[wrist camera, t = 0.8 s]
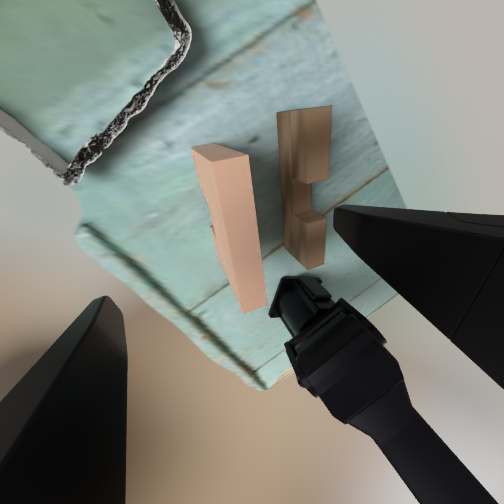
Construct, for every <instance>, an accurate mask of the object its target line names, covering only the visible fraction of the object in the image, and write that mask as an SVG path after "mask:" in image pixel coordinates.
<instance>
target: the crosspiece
mask: <svg viewBox="0 0 504 504" xmlns="http://www.w3.org/2000/svg"><path fill="white" fill-rule="evenodd" d="M191 151H192V155H193V159H194V163H195V167H196V171H197V175H198V179H199V183H200V187H201V191H202V193H203V194H204V196H205V197H206V199H207V202H208V206H209V210H210V214H211V219H212V223H213V226H210V227H211V231H212V235H213V239H214V243H215V247H216V251H217V255H218V258H219V260H220V263H221V265H222V267H223V269H224V271H225V274H226V276H227V278H228V280H229V283H230V285H231V287H232V289H233V291H234V294H235V296H236V298H237V300H238V303H239V305H240V307H241V309H242V311H243V314H244V313H246V312H249V311H252V310H255V309H257V308H260V307H263V306H266V305H267V297H266V289H265V281H264V273H263V266H262V258H261V250H260V242H259V234H258V226H257V219H256V211H255V203H254V195H253V187H252V180H251V172H250V164H249V156H248V155H247V154H244V153H241V152H238V151H235V150H232V149H229V148H226V147H224V146H221V145H218V144H215V143H212V144H207V145H201V146H196V147H191Z"/></svg>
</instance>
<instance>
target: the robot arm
mask: <svg viewBox="0 0 504 504" xmlns="http://www.w3.org/2000/svg"><path fill="white" fill-rule="evenodd" d="M333 227H334V229H335V231H336V232H337V233H338V234H339V236H340V237H341V238H342V239H343V240H344V241H345V242H346V244H347V245H348V246H349V247H350V248H351V249H352V250H353V251H354V252H355V254H356V255H357V256H358V257H360V258H361V259H362V260H363V261H364V262H365V263H366V264H367V265H368V266H369V267H370V268H371V269H373V270H374V271H375V272H376V273H377V274H378V275H379V276H380V277H381V278H382V279H384V280H385V281H386V282H387V283H388V284H389V285H390V286H391V287H392V288H393V289H394V290H396V291H397V292H398V293H399V294H400V295H401V296H402V297H403V298H404V299H405V300H407V301H408V302H409V303H410V304H411V305H412V306H413V307H414V308H415V309H417V310H418V311H419V312H420V313H421V314H422V315H423V316H424V317H425V318H426V319H427V320H428V321H430V322H431V323H432V324H433V325H434V326H435V327H436V328H437V329H438V330H439V331H441V332H442V333H443V334H444V335H445V336H446V337H447V338H448V339H450V341H451V342H452V343H453V344H455V345H456V346H457V347H458V348H459V349H460V350H461V351H462V352H463V353H464V354H466V355H467V356H468V357H469V358H470V359H471V360H472V361H473V362H474V363H475V364H476V365H478V366H479V367H480V368H481V369H482V370H483V371H484V372H485V373H486V374H487V375H488V376H490V377H491V378H492V379H493V380H494V381H495V382H496V383H497V384H498V385H499V386H500V387H502V388H503V389H504V215H487V214H470V213H455V212H454V213H453V212H446V213H445V212H440V211H425V210H413V209H399V208H386V207H372V206H358V205H341V206H338V207H336V208H335V209H334V216H333ZM321 283H322V280H321V279H320V278H313V277H283V278H282V279H281V280H280V283H279V286H278V288H277V291H276V294H275V297H274V299H273V302H272V305H271V308H270V310H269V313H268V315H269V316H270V318H277V317H280V318H281V320H282V321H283V323H284V324H285V326H286V328H287V329H288V331H289V332H290V334H291V336H292V337H293V338H292V339H291V340H290V341H287V342H286V343H285V344H284V346H285V348H286V353H287V355H288V357H289V360H290V362H291V364H292V367H293V369H294V371H295V374H296V378H297V382H298V384H299V385H300V386H301V387H303V388H306V389H307V390H308V391H309V392H310V393H311V394H312V395H313V396H314V397H318V396H319V397H320V398H321V400H322V401H323V403H324V404H325V406H326V407H327V408H328V410H329V411H330V413H331V414H332V416H334V417H335V418H336V419H338V420H339V421H341V422H342V423H344V424H347V423H348V424H350V425H351V426H353V427H355V428H357V429H358V430H360V431H362V432H363V433H365V434H367V435H369V436H370V437H371V438H372V439H373V440H374V441H375V443H376V444H377V445H378V447H379V448H380V449H381V451H382V452H383V454H384V455H385V456H386V457H387V459H388V460H389V462H390V463H391V465H392V466H393V467H394V468H395V470H396V471H397V473H398V474H399V476H400V477H401V478H402V480H403V481H404V483H405V484H406V485H407V487H408V488H409V490H410V491H411V492H412V494H413V495H414V496H415V498H416V499H417V501H418V502H419V503H420V504H498V503H497V501H496V500H495V499H494V498H493V497H492V496H491V495H490V494H489V492H488V491H487V490H486V489H485V488H484V487H483V486H482V485H481V484H480V482H479V481H478V480H477V479H476V478H475V477H474V475H473V474H472V473H471V472H470V471H469V470H468V469H467V468H466V466H465V465H464V464H463V463H462V462H461V461H460V460H459V459H458V457H457V456H456V455H455V454H454V453H453V452H452V451H451V450H450V448H449V447H448V446H447V445H446V444H445V443H444V442H443V440H442V439H441V438H440V437H439V436H438V435H437V434H436V433H435V432H434V430H433V429H432V428H431V427H430V426H429V425H428V424H427V423H426V421H425V420H424V419H423V418H422V417H421V416H420V414H419V413H418V412H417V411H416V410H415V409H414V408H413V406H412V404H411V401H410V398H409V395H408V392H407V388H406V385H405V383H404V377H403V374H402V372H401V370H400V366H399V363H398V361H397V360H396V359H395V358H394V357H393V356H392V355H391V353H390V352H389V351H388V350H387V349H386V348H385V347H384V346H383V345H384V344H385V343H387V341H386V339H385V338H384V337H383V336H382V334H381V333H380V332H379V331H378V330H377V328H376V327H375V326H374V325H373V324H372V323H371V322H369V320H368V319H367V318H366V317H364V316H363V315H362V314H361V313H360V312H358V311H357V310H356V309H355V308H354V307H352V306H351V305H350V304H349V303H347V302H346V301H345V300H344V299H342V298H340V299H339V300H338V302H336V303H335V302H334V301H333V300H332V299H331V297H332V296H331V294H330V293H329V292H328V291H327V290H326V289H325V288H324V287H323V286H322V285H321ZM127 372H128V356H127V345H126V336H125V328H124V320H123V314H122V312H121V310H120V309H119V308H118V307H117V305H116V304H115V303H114V302H113V301H112V299H111V298H110V297H109V296H102V297H100V298H97V299H95V300H93V301H92V302H91V303H90V304H89V305H88V306H87V307H86V308H85V310H84V311H83V312H82V313H81V314H80V315H79V316H78V317H77V318H76V319H75V321H74V322H73V323H72V324H71V325H70V326H69V327H68V328H67V330H65V331H64V333H63V334H62V335H61V336H60V337H59V338H58V339H57V340H56V342H55V343H54V344H53V345H52V346H51V347H50V348H49V349H48V350H47V351H46V352H45V353H44V355H43V356H42V357H41V358H40V359H39V360H38V361H37V362H36V363H35V364H34V366H32V368H31V369H30V370H29V371H28V372H27V373H26V374H25V375H24V376H23V377H22V379H21V380H20V381H19V382H18V383H17V384H16V385H15V386H14V388H12V389H11V391H10V392H9V393H8V394H7V395H6V396H5V397H4V398H3V399H2V400H1V402H0V504H125V495H126V434H127V429H126V428H127Z"/></svg>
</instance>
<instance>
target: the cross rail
mask: <svg viewBox="0 0 504 504" xmlns="http://www.w3.org/2000/svg"><path fill="white" fill-rule="evenodd" d="M331 113H332V106H323V107H314V108H305V109H296V110H290V111H283V112H277V128H278V144H279V160H280V177H281V193H282V210H283V226H284V243H285V249H286V250H287V251H288V252H289V253H290V254H291V255H292V256H293V257H294V258H295V259H296V260H297V261H298V262H300V263H301V264H302V265H303V266H304V267H305V268H306V269H307V270H309V269H312V268H315V267H318V266H320V265H323V264H324V255H325V235H326V218H325V217H323V216H321V215H319V214H317V213H316V212H314V211H312V210H311V189H312V183H314V182H318V181H322V180H326V179H328V174H329V154H330V133H331Z"/></svg>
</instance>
